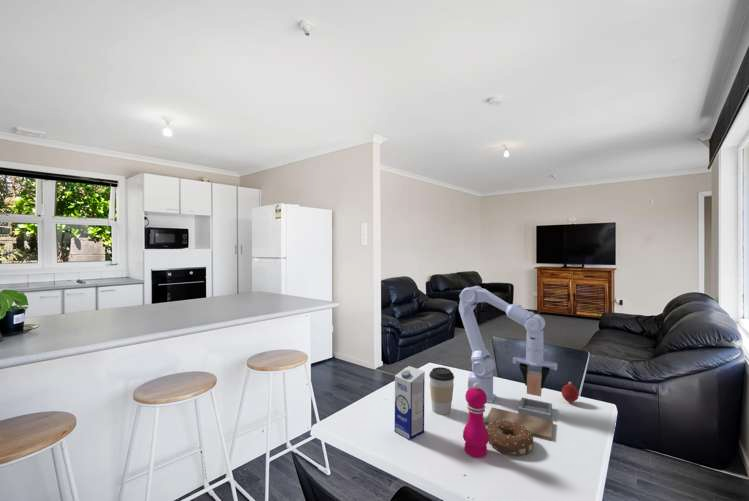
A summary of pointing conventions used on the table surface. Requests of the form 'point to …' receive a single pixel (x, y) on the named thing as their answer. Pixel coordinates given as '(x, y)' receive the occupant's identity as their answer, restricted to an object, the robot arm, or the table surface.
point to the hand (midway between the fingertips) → (534, 386)
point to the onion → (570, 393)
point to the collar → (533, 412)
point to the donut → (510, 437)
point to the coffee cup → (441, 390)
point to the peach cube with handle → (534, 383)
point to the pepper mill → (475, 423)
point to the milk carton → (409, 402)
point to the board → (523, 422)
